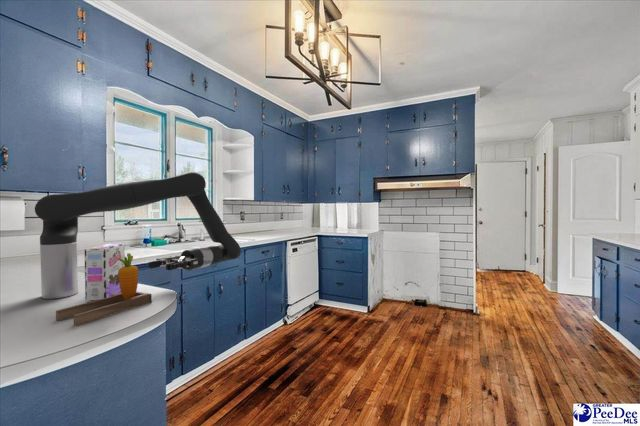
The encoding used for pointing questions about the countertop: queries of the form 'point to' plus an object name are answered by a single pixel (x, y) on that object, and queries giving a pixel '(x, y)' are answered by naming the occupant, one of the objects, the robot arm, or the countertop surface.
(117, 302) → the guide channel
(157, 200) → the robot arm
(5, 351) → the countertop surface
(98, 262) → the candy box
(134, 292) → the carrot
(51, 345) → the countertop surface
